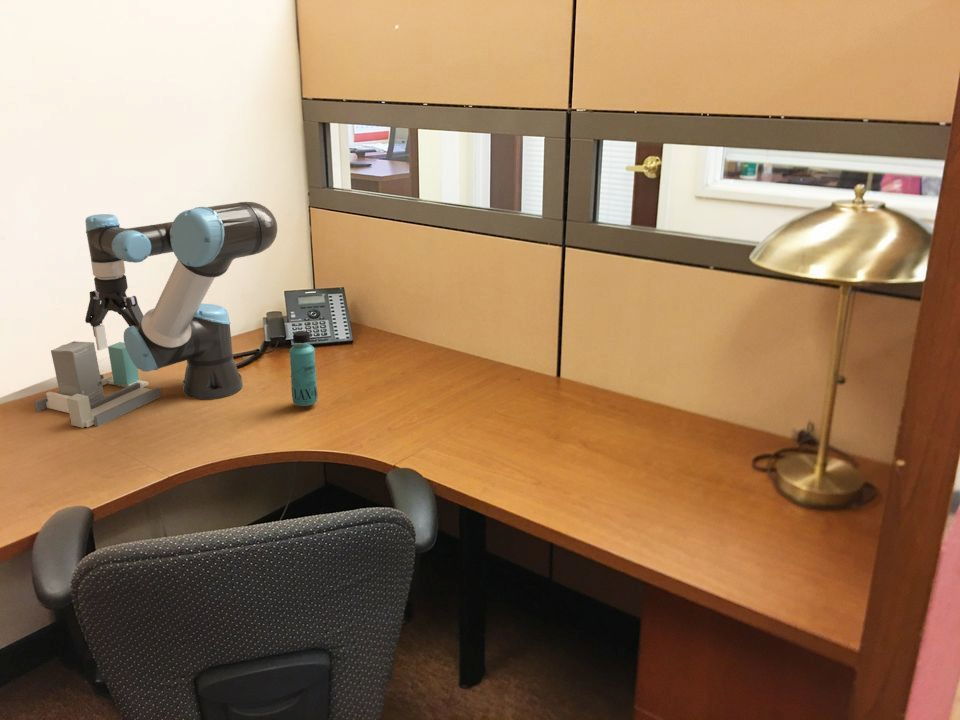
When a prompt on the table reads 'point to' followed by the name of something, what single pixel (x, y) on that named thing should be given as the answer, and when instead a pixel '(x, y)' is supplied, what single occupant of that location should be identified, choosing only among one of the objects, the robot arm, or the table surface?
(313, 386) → the beverage bottle
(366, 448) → the table surface
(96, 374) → the skincare box
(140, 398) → the lane bed
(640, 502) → the table surface
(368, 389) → the table surface
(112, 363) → the white and teal frame
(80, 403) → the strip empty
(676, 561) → the table surface
